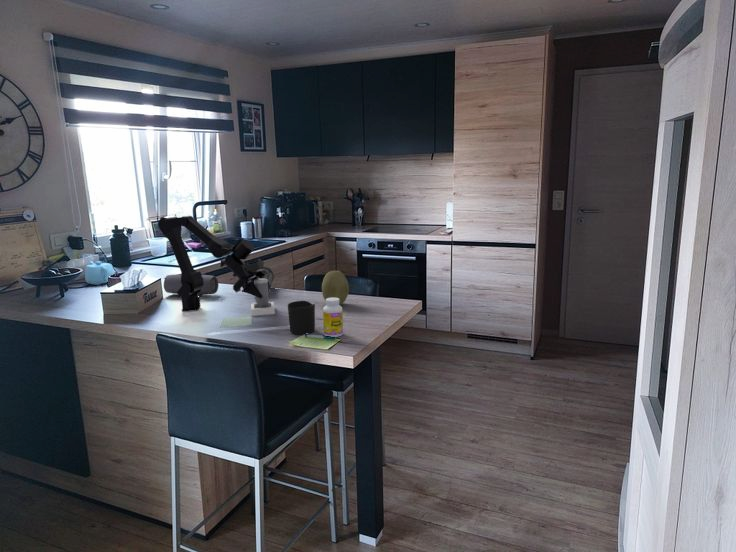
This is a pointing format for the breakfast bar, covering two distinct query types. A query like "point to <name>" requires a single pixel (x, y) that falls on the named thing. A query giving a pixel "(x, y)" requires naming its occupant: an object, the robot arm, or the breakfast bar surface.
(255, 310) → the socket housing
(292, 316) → the pen holder
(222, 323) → the pad
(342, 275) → the fruit
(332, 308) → the supplement bottle
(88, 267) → the teapot
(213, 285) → the bluetooth speaker
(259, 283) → the grey rectangular block
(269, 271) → the muzzle brake
